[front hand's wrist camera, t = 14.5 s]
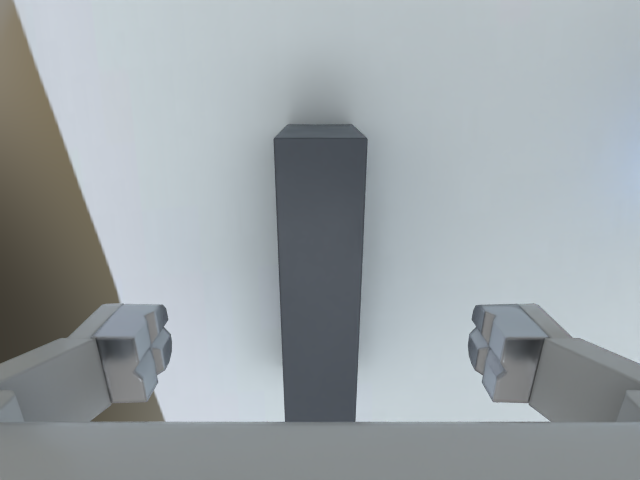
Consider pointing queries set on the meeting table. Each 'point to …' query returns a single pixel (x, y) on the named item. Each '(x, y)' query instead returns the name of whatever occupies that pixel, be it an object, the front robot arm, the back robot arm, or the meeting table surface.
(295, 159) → the bar
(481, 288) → the meeting table surface
